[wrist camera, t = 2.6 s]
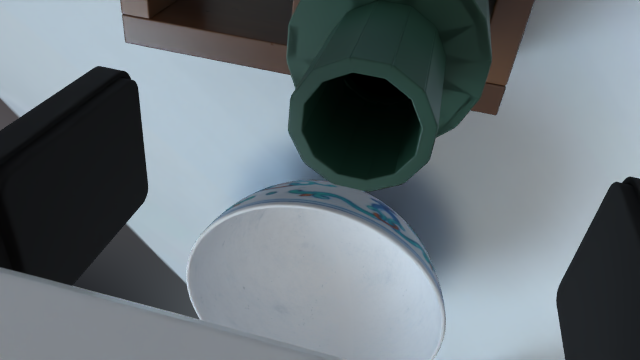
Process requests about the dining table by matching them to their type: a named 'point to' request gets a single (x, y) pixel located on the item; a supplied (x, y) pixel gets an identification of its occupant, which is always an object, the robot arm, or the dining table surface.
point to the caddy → (286, 34)
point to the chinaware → (319, 274)
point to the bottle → (382, 83)
